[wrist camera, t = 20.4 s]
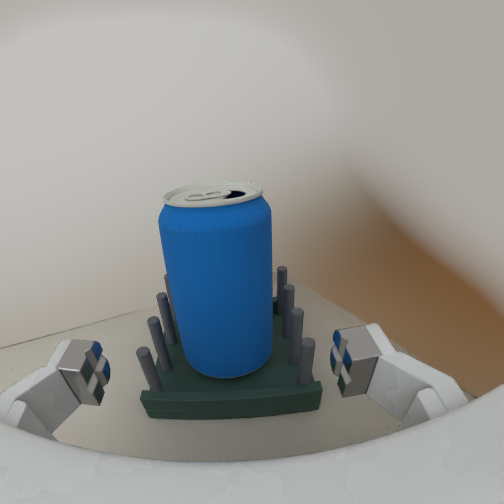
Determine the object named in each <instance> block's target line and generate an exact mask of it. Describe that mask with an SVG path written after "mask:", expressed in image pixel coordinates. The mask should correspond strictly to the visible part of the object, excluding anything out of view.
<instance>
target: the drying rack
mask: <svg viewBox="0 0 504 504" xmlns="http://www.w3.org/2000/svg"><path fill="white" fill-rule="evenodd" d="M164 279H165V283H166V288H167V294H168V297H167V294H166V293H164V292H162V293H159V294H157V296H156V297H157V301H158V305H159V309H160V313H161V317H162V321H163V325H164V329H165V331H164V335H163V332H162V328H161V325H160V321H159V318H158V317H155V316H153V317H150V318H149V319H148V320H147V322H148V326H149V329H150V333H151V336H152V339H153V342H154V346H155V349H156V352H157V355H158V358H157V362H156V366H155V364H154V361H153V359H152V356H151V353H150V350H149V348H147V347H140V348H139V349H138V350H137V352H136V354H137V356H138V359H139V362H140V364H141V367H142V369H143V372H144V374H145V377H146V379H147V381H148V384H149V386H150V391H147V390H143V391H142V393H141V397H140V400H141V402H142V404H143V406H144V408H145V409H146V412H147V414H148V416H149V417H150V418H164V419H229V418H247V417H260V416H270V415H280V414H288V413H296V412H303V411H309V410H316V409H319V405H320V400H321V395H322V390H323V389H322V386H321V383H320V381H316V382H314V378H313V375H312V365H313V358H314V350H315V341H314V339H312V338H304V339H302V330H303V316H304V311H303V309H301V308H294V289H295V287H294V286H293V285H290V284H288V285H287V267H285V266H280V267H278V268H277V297H272V299H273V347H272V352H271V355H270V357H269V359H268V360H267V361H266V362H265V363H264V364H263V365H262V366H261V367H260V368H258V369H257V370H255V371H253V372H251V373H249V374H246V375H243V376H239V377H234V378H216V377H211V376H208V375H205V374H202V373H200V372H198V371H197V370H195V369H194V368H193V367H192V366H191V365H190V364H189V363H188V361H187V359H186V357H185V354H184V350H183V346H182V341H181V337H180V333H179V329H178V324H177V320H176V316H175V311H174V306H173V302H172V297H171V292H170V287H169V282H168V277H167V274H166V275H165V276H164ZM168 298H169V302H168Z"/></svg>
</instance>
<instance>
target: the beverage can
mask: <svg viewBox="0 0 504 504" xmlns="http://www.w3.org/2000/svg"><path fill="white" fill-rule="evenodd" d="M262 193H263V188H262V187H261V186H260V185H258V184H254V183H248V182H232V181H231V182H211V183H202V184H195V185H190V186H186V187H182V188H178V189H175V190H172V191H170V192H168V193H166V194H165V195H164V196H163V202H164V203H165V205H164V207H163V209H162V211H161V213H160V215H159V220H158V223H159V230H160V236H161V243H162V249H163V254H164V260H165V266H166V271H167V277H168V282H169V287H170V292H171V297H172V302H173V306H174V311H175V316H176V320H177V324H178V329H179V333H180V337H181V341H182V346H183V350H184V354H185V357H186V359H187V361H188V363H189V364H190V365H191V366H192V367H193V368H194V369H195V370H197V371H198V372H200V373H202V374H205V375H208V376H211V377H216V378H234V377H239V376H243V375H246V374H249V373H251V372H253V371H255V370H257V369H258V368H260V367H261V366H262V365H263V364H264V363H265V362H266V361H267V360H268V359H269V357H270V355H271V352H272V347H273V299H272V227H271V226H272V225H271V209H270V206H269V205H268V203H267V202H266V201H265V199H264V198H263V197H262Z"/></svg>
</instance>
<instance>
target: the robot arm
mask: <svg viewBox="0 0 504 504" xmlns="http://www.w3.org/2000/svg"><path fill="white" fill-rule="evenodd" d="M333 341H334V343H335V345H334V346H333V347H332V348H331V354H330V362H331V367H332V371H333V374H334V375H336V376H337V377H339V379H338V383H337V384H338V387H339V389H340V392H341V394H342V397H343V398H345V397H350V396H356V395H361V394H366V395H367V396H368V397H369V398H371V399H372V400H373V401H375V402H376V403H377V404H378V405H380V406H381V407H382V408H384V409H385V410H386V411H387V412H389V413H390V414H391V415H393V416H394V417H395V418H397V419H398V420H399V421H401V423H400V425H399V427H398V428H397V430H396V432H395V433H392V434H389V435H386V436H383V437H379V438H376V439H372V440H369V441H365V442H361V443H357V444H353V445H349V446H345V447H341V448H336V449H331V450H326V451H321V452H316V453H310V454H304V455H297V456H290V457H282V458H274V459H264V460H251V461H232V462H186V461H168V460H156V459H146V458H137V457H130V456H123V455H116V454H111V453H105V452H100V451H95V450H90V449H86V448H81V447H77V446H73V445H69V444H65V443H62V442H58V440H57V439H56V438H55V437H54V436H53V435H52V433H53V432H54V431H55V430H56V429H57V428H58V427H59V426H60V425H61V424H62V423H63V422H64V421H65V420H66V419H67V418H68V417H69V416H70V415H71V414H72V413H73V412H74V411H75V410H76V409H77V408H78V407H79V406H80V405H81V404H87V405H96V406H100V404H101V401H102V399H103V396H104V393H105V392H104V390H103V387H104V386H105V385H107V384H108V382H109V379H110V366H109V363H108V360H107V359H106V358H105V357H104V356H103V355H102V354H101V353H102V351H103V349H102V347H101V345H100V343H99V342H97V341H87V340H76V339H75V340H73V339H63V340H61V341H60V343H59V344H58V346H57V348H56V349H55V351H54V352H53V354H52V356H51V357H50V359H49V361H48V362H47V364H46V366H45V367H43V366H42V367H40V368H39V369H37V370H36V371H34V372H33V373H31V374H29V375H28V376H26V377H25V378H23V379H22V380H20V381H19V382H17V383H16V384H14V385H13V386H11V387H10V388H8V389H7V390H5V391H3V392H2V393H1V394H0V504H504V383H503V384H502V385H500V386H498V387H497V388H495V389H493V390H491V391H490V392H488V393H486V394H484V395H482V396H480V397H478V398H476V399H475V400H473V401H471V402H469V400H468V399H467V397H466V396H465V394H464V393H463V392H462V390H461V389H460V387H459V386H458V384H457V383H456V381H455V380H454V378H452V377H450V376H448V375H446V374H444V373H442V372H440V371H438V370H436V369H434V368H432V367H430V366H428V365H426V364H424V363H422V362H420V361H418V360H416V359H414V358H412V357H410V356H408V355H406V354H404V353H402V352H396V351H395V349H394V348H393V346H392V345H391V343H390V341H389V340H388V338H387V337H386V335H385V334H384V332H383V331H382V330H381V328H380V327H379V325H378V324H376V323H373V324H368V325H363V326H358V327H351V328H345V329H338V330H335V332H334V335H333Z"/></svg>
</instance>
